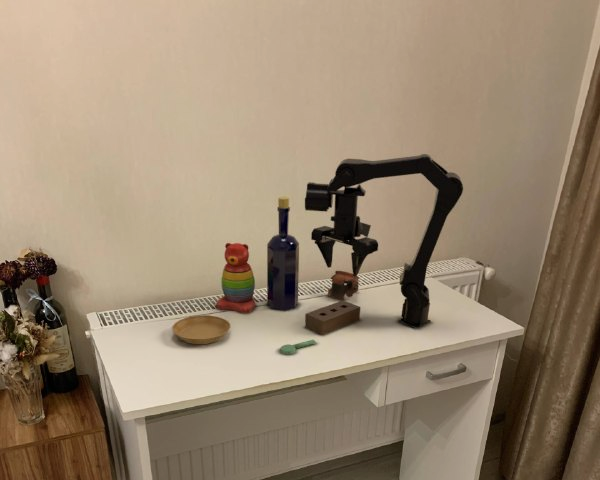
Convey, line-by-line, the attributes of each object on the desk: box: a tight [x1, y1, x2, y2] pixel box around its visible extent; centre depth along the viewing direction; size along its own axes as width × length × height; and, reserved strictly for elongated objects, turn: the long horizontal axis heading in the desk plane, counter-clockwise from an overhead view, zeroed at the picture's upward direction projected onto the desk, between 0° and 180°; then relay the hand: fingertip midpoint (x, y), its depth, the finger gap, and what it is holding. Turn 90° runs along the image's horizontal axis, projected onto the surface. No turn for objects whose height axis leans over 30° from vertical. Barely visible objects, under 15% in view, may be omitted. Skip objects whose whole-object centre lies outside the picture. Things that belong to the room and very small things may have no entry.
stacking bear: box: [215, 242, 256, 314], centre depth 171 cm, size 11×10×18 cm
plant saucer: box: [171, 314, 232, 345], centre depth 157 cm, size 15×15×3 cm
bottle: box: [266, 196, 300, 311], centre depth 169 cm, size 9×9×30 cm
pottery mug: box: [327, 270, 360, 301], centre depth 182 cm, size 12×10×8 cm
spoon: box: [280, 339, 316, 355], centre depth 152 cm, size 1×4×10 cm
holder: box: [304, 299, 361, 336], centre depth 165 cm, size 6×15×4 cm, turn 134°
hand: (342, 271), depth 164 cm, fingers open, 9 cm apart
